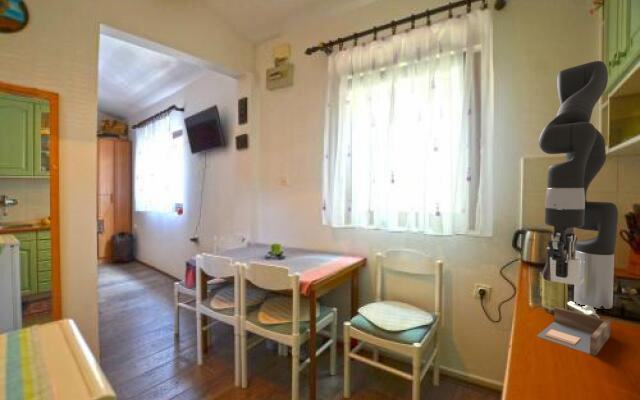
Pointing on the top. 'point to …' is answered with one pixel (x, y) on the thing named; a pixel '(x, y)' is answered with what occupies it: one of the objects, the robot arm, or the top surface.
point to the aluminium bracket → (572, 273)
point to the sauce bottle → (552, 290)
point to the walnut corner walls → (585, 326)
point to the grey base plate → (567, 336)
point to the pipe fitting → (582, 309)
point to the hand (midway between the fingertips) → (562, 276)
